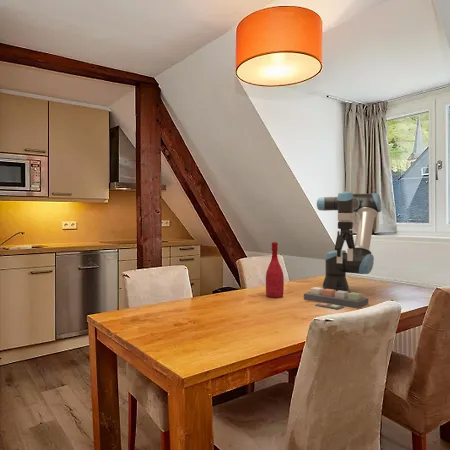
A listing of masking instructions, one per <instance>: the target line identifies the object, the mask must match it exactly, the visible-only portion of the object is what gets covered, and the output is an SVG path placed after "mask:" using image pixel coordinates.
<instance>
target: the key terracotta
mask: <svg viewBox="0 0 450 450" xmlns="http://www.w3.org/2000/svg"><path fill="white" fill-rule="evenodd" d="M335 292H336V290H333V289H324V290H322V295H324V296H331V297H332V296H335Z"/></svg>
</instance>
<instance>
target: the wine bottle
mask: <svg viewBox="0 0 450 450" xmlns="http://www.w3.org/2000/svg"><path fill="white" fill-rule="evenodd" d="M278 245H279V244H278V242H277V241H273V242H271V251H272V252H271V260H270V262H269V264H268V267H267V269H266V274H265V295H266V296H267V297H268V298H271V299H272V298H273V299H278V298H282V297H284V290H285V289H284V285H285V283H284V282H285V281H284V279H285V278H284V272H283V269H282V268H283V267H281V264H280V261H279V258H278V250H279V249H278Z"/></svg>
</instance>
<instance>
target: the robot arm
mask: <svg viewBox="0 0 450 450" xmlns="http://www.w3.org/2000/svg"><path fill="white" fill-rule="evenodd" d="M382 207H383V206H382V200H381V195H380V194H379V193H377V192H376V193H373V192H371V193H353V192H352V191H340V192H338V194H337V196H323V197H318V198H317V199H316V208H317V210H318V211H337V229H339V230H337V231H336V232H337V233H336V234H337V236H336V238H335V243H334V244H335V245H334V250H332V251H328V252H326V253H325V259H324V260H325V276H324V280H323V283H322V288H324V289H333V290H336V291H339V290H340V291H348V292H349V290H350V287H349V282H348V279H347V278H346V277H347V276H346V275H347V274H355V275H356V274H357V275H358V274H359V275H368V274H370V273H371V272H372V270H373V268H374V261H375V260H374V259H375V258H374V255H373V254H372V251H371V250H370V249H371V248H370V247H371V241H372V235H373V228H374V221H375V218H376V217H377V216H378V214H379V213H381V212H382ZM354 213H357V214H358V215H359V216H358V217H359V218H358V224H357V229H356V234H355V235H356V236H355V240H354V236H353V235H354V233H353V230H352V229H354V227H353V226H354V224H353V219H354ZM345 242H346V246H347V251H346V250H343V247H344V243H345Z"/></svg>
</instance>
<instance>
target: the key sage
mask: <svg viewBox="0 0 450 450" xmlns="http://www.w3.org/2000/svg"><path fill="white" fill-rule="evenodd" d="M362 297H363V293H362V292H361V293H360V292H355V291H354V292H353V291H352V292H348V299H350V300H357V301H358V300H361V299H362Z"/></svg>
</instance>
